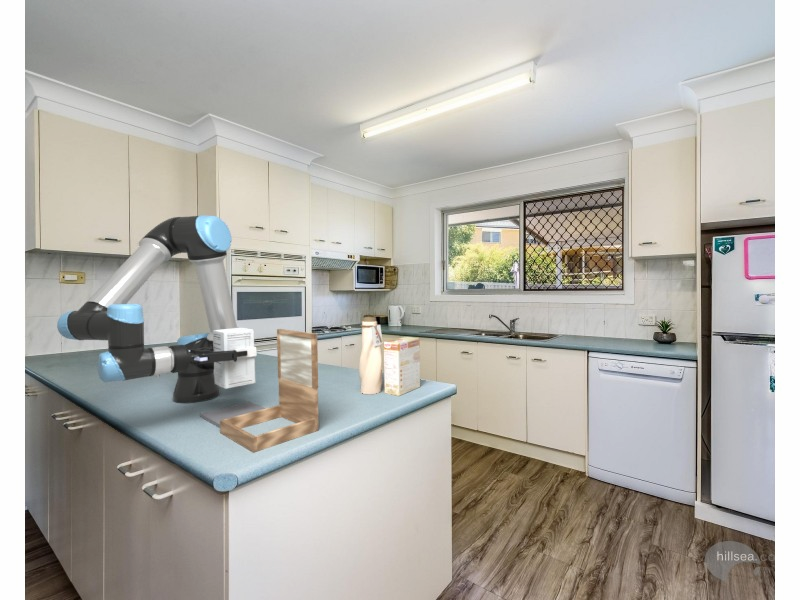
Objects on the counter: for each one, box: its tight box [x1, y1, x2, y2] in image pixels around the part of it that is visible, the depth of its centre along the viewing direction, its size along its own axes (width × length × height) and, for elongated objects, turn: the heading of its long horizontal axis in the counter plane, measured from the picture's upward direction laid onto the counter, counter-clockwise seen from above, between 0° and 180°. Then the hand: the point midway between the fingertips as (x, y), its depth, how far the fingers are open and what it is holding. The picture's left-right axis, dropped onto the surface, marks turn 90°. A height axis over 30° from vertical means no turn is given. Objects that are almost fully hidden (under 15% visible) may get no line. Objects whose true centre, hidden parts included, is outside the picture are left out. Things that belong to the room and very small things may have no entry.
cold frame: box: [219, 328, 320, 454], centre depth 107 cm, size 19×19×27 cm
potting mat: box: [199, 401, 266, 429], centre depth 121 cm, size 16×16×1 cm
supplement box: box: [213, 327, 256, 390], centre depth 120 cm, size 10×9×17 cm
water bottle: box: [358, 316, 384, 395], centre depth 146 cm, size 10×9×28 cm
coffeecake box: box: [383, 336, 421, 397], centre depth 148 cm, size 15×7×20 cm, turn 145°
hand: (248, 349), depth 123 cm, fingers closed on supplement box, 9 cm apart
